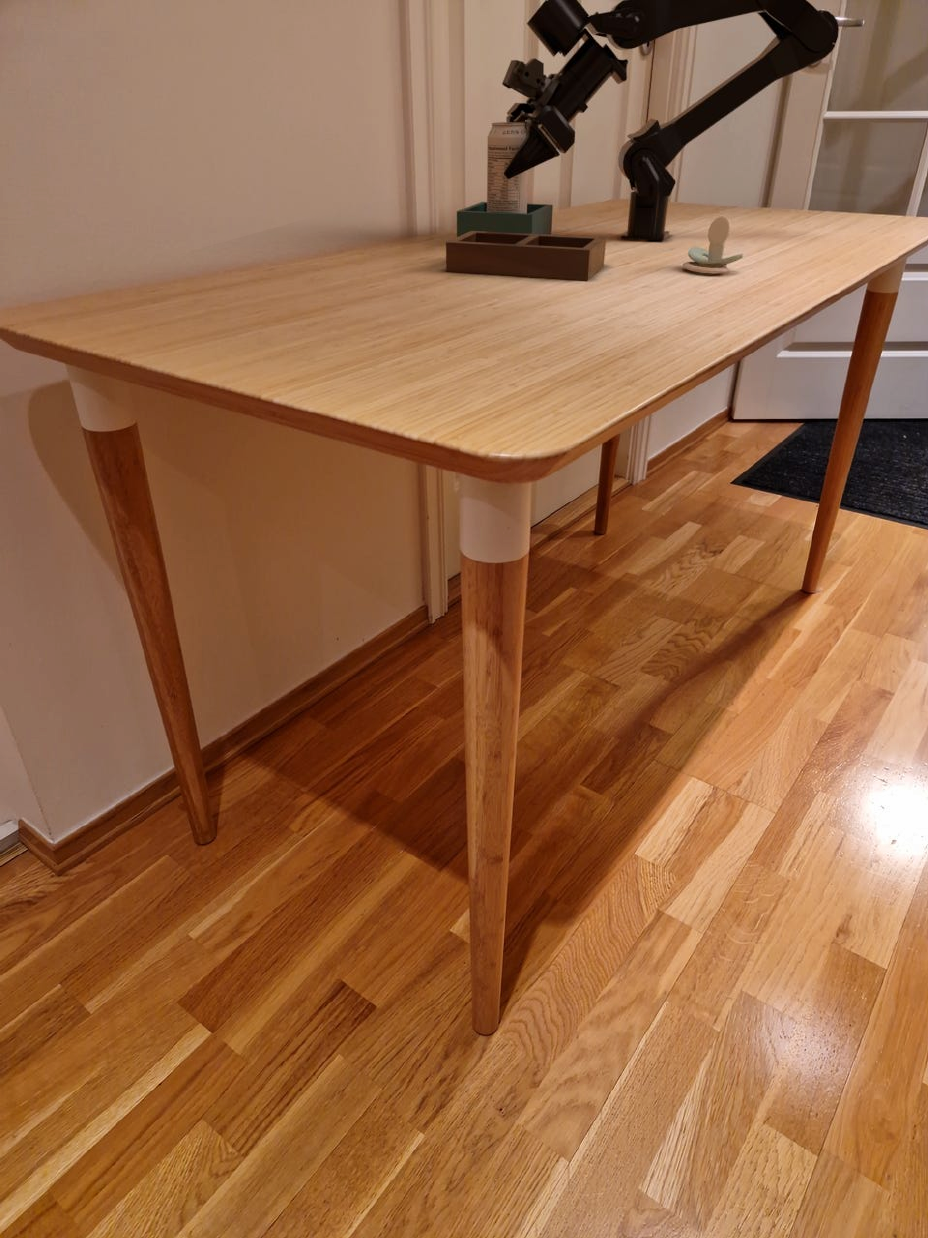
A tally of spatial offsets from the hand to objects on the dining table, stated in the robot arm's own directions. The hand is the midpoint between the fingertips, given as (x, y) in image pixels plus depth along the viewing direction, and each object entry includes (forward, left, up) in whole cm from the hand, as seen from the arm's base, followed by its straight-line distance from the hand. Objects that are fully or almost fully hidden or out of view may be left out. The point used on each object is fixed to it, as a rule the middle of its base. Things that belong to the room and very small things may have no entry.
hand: (498, 173), depth 123 cm
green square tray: (-1, +1, -9) cm, 9 cm away
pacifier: (+14, +33, -9) cm, 37 cm away
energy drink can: (-1, +1, -9) cm, 9 cm away
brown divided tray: (+20, +10, -9) cm, 25 cm away
